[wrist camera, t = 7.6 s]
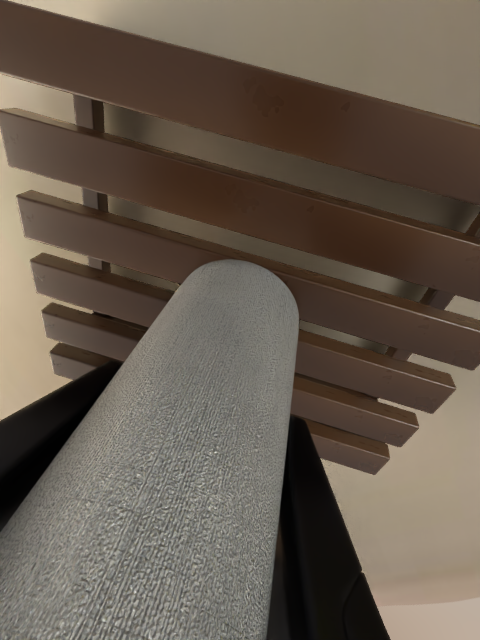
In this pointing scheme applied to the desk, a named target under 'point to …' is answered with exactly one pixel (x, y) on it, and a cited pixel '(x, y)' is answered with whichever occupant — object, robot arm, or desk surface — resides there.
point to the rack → (245, 217)
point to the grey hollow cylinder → (167, 480)
